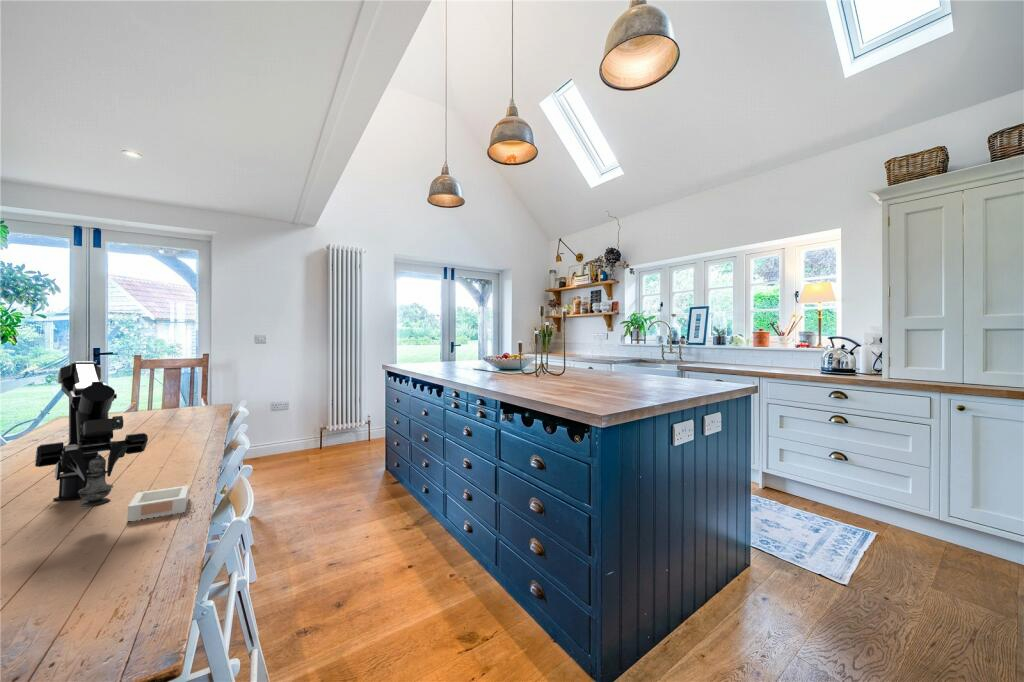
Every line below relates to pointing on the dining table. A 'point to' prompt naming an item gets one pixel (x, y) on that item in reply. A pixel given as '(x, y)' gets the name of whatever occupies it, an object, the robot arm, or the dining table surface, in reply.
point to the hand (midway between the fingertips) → (97, 477)
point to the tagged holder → (158, 503)
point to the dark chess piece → (95, 485)
